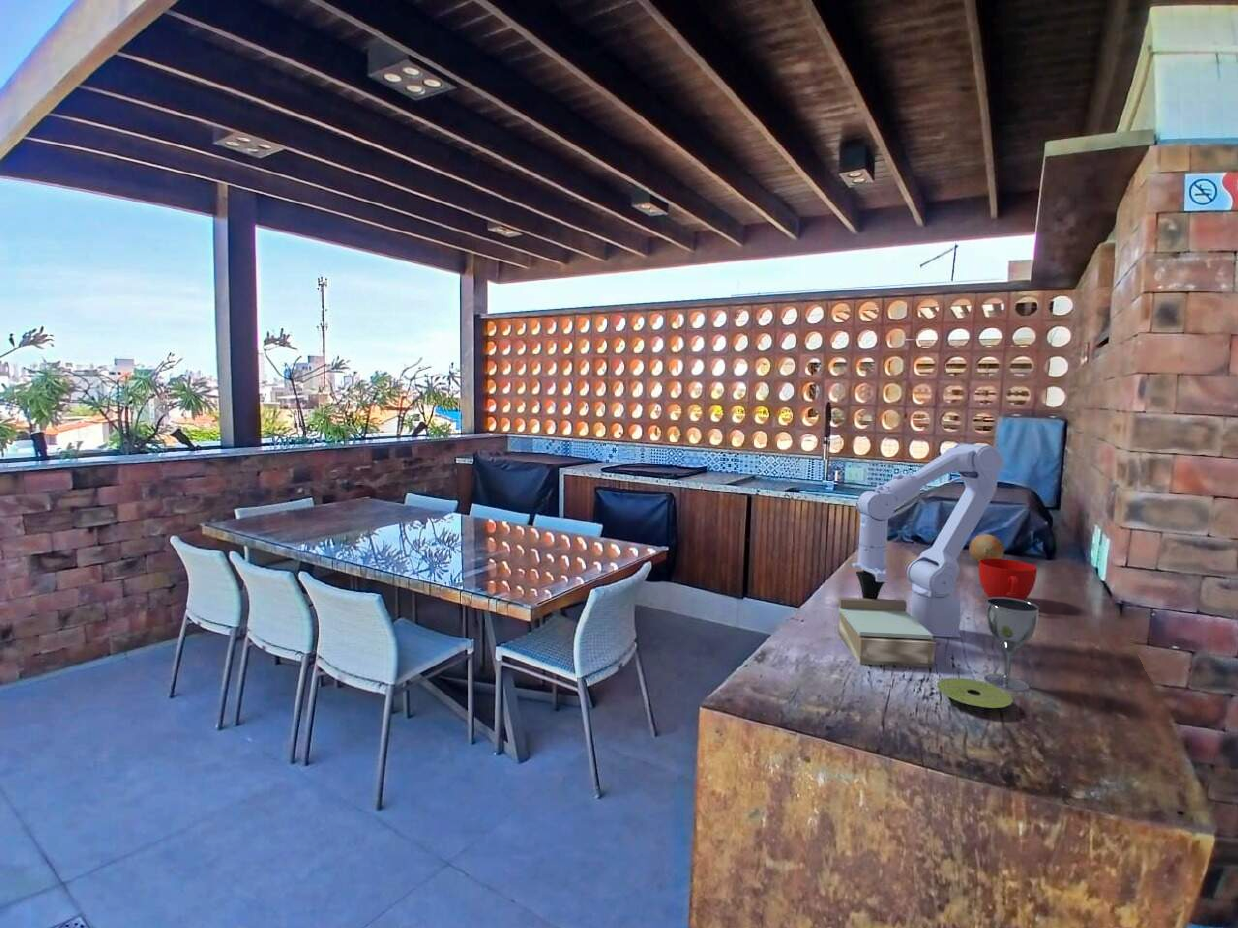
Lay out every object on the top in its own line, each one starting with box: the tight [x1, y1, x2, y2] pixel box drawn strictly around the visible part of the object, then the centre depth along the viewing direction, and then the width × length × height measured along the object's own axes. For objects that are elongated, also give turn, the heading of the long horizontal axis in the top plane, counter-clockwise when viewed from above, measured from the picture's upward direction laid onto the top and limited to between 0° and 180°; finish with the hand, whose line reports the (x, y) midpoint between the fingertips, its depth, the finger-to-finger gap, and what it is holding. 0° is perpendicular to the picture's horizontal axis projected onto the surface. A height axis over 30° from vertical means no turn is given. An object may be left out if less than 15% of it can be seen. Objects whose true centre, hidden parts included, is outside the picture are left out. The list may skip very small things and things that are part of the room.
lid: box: [838, 596, 934, 640], centre depth 129 cm, size 14×16×3 cm
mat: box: [936, 677, 1013, 709], centre depth 106 cm, size 11×11×2 cm
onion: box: [968, 533, 1005, 563], centre depth 202 cm, size 10×10×10 cm
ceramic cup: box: [978, 558, 1038, 601], centre depth 161 cm, size 13×17×10 cm
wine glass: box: [984, 597, 1039, 692], centre depth 113 cm, size 8×8×15 cm
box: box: [838, 612, 936, 669], centre depth 128 cm, size 14×16×5 cm
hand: (869, 604), depth 138 cm, fingers closed
